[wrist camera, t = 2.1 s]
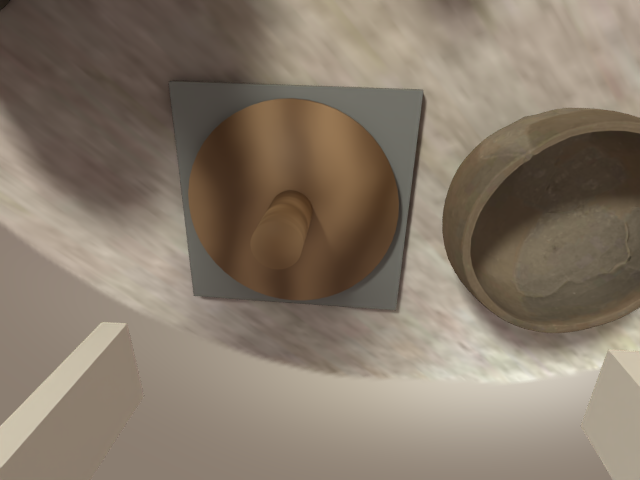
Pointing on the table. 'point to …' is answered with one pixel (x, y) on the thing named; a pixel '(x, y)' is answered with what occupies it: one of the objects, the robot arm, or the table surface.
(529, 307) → the bowl
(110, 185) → the table surface
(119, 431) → the robot arm
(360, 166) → the lid
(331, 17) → the table surface
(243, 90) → the mat
